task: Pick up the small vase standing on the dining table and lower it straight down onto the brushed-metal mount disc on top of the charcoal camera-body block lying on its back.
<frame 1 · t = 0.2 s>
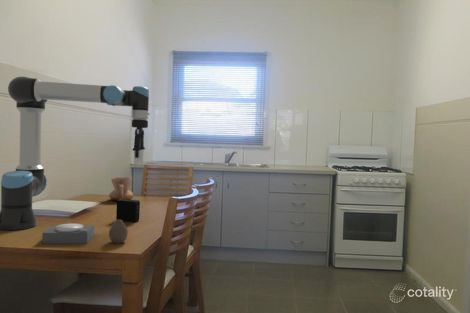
hand: (138, 163, 183), 28 cm above the table, fingers open, 13 cm apart
electronic device: (127, 221, 184), on the table
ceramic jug: (121, 200, 238), on the table
camera body: (69, 239, 149), on the table
vase: (118, 242, 148), on the table
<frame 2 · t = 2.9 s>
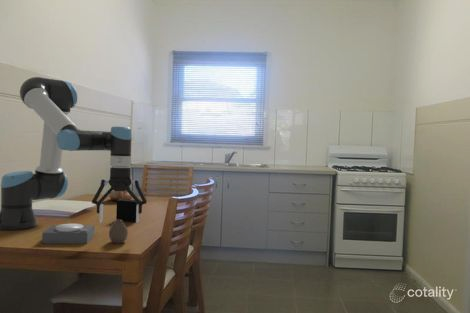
hand: (119, 221, 147), 8 cm above the table, fingers open, 13 cm apart
nothing on the table moved.
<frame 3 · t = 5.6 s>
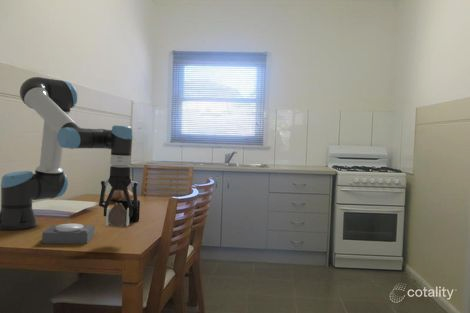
hand: (117, 224, 148), 7 cm above the table, fingers closed on vase, 7 cm apart
vase: (117, 226, 148), point 6 cm above the table, touching gripper
everything else where it was.
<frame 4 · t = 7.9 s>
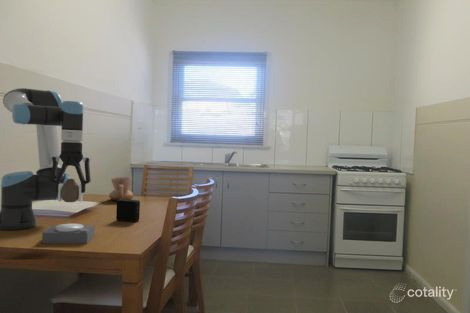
hand: (70, 200, 148), 15 cm above the table, fingers closed on vase, 7 cm apart
vase: (70, 202, 148), point 15 cm above the table, touching gripper
everything else where it was.
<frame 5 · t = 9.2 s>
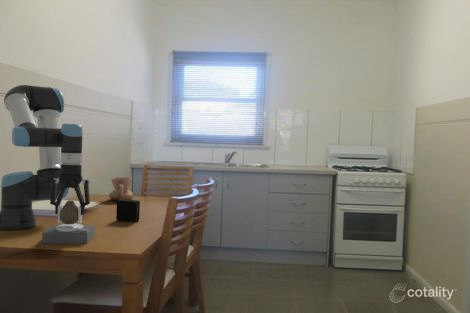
hand: (69, 222, 148), 7 cm above the table, fingers closed on vase, 7 cm apart
vase: (69, 223, 148), point 6 cm above the table, touching gripper
everything else where it was.
when the fingers open (5 cm above the table, at t = 10.2 s): vase stays where it is, resting on camera body.
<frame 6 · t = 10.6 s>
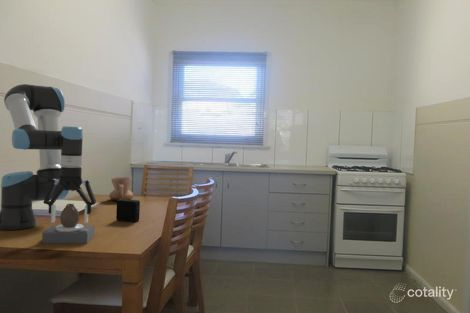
hand: (69, 222, 148), 7 cm above the table, fingers open, 11 cm apart
vase: (69, 226, 148), point 5 cm above the table, touching camera body
everything else where it was.
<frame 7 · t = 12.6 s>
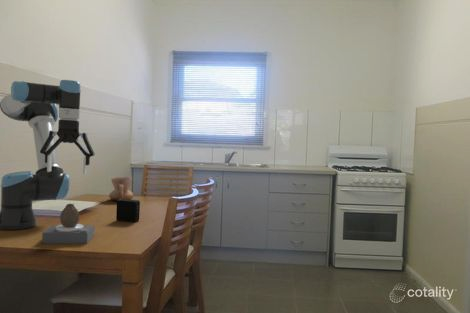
hand: (67, 172, 153), 25 cm above the table, fingers open, 13 cm apart
nothing on the table moved.
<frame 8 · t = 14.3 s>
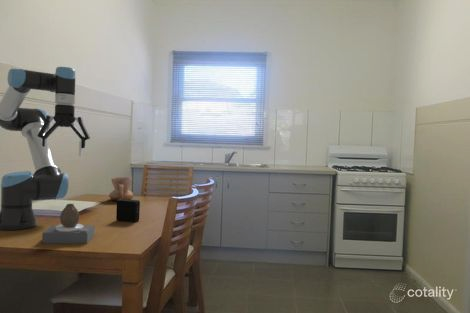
hand: (63, 155, 161), 32 cm above the table, fingers open, 13 cm apart
nothing on the table moved.
at the end: vase 0.1 cm from the camera body (horizontally); vase point 4.8 cm above the table; vase tilted 0° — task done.
